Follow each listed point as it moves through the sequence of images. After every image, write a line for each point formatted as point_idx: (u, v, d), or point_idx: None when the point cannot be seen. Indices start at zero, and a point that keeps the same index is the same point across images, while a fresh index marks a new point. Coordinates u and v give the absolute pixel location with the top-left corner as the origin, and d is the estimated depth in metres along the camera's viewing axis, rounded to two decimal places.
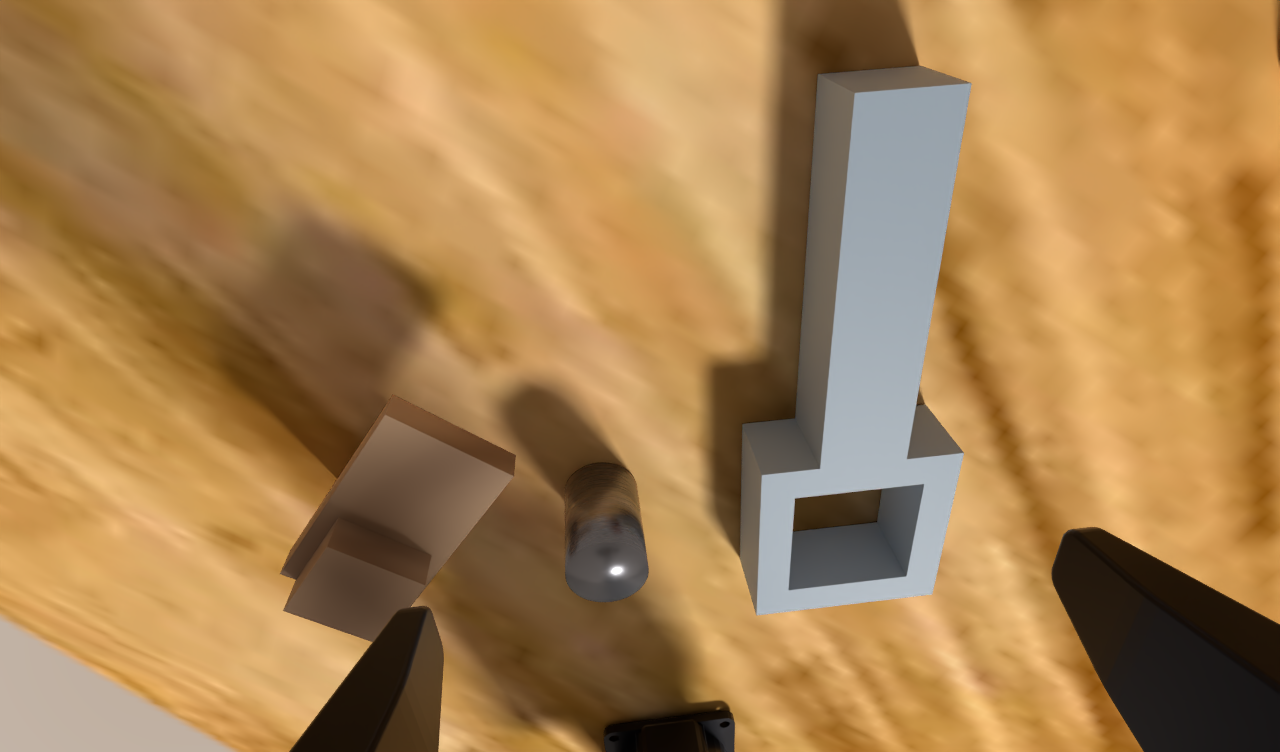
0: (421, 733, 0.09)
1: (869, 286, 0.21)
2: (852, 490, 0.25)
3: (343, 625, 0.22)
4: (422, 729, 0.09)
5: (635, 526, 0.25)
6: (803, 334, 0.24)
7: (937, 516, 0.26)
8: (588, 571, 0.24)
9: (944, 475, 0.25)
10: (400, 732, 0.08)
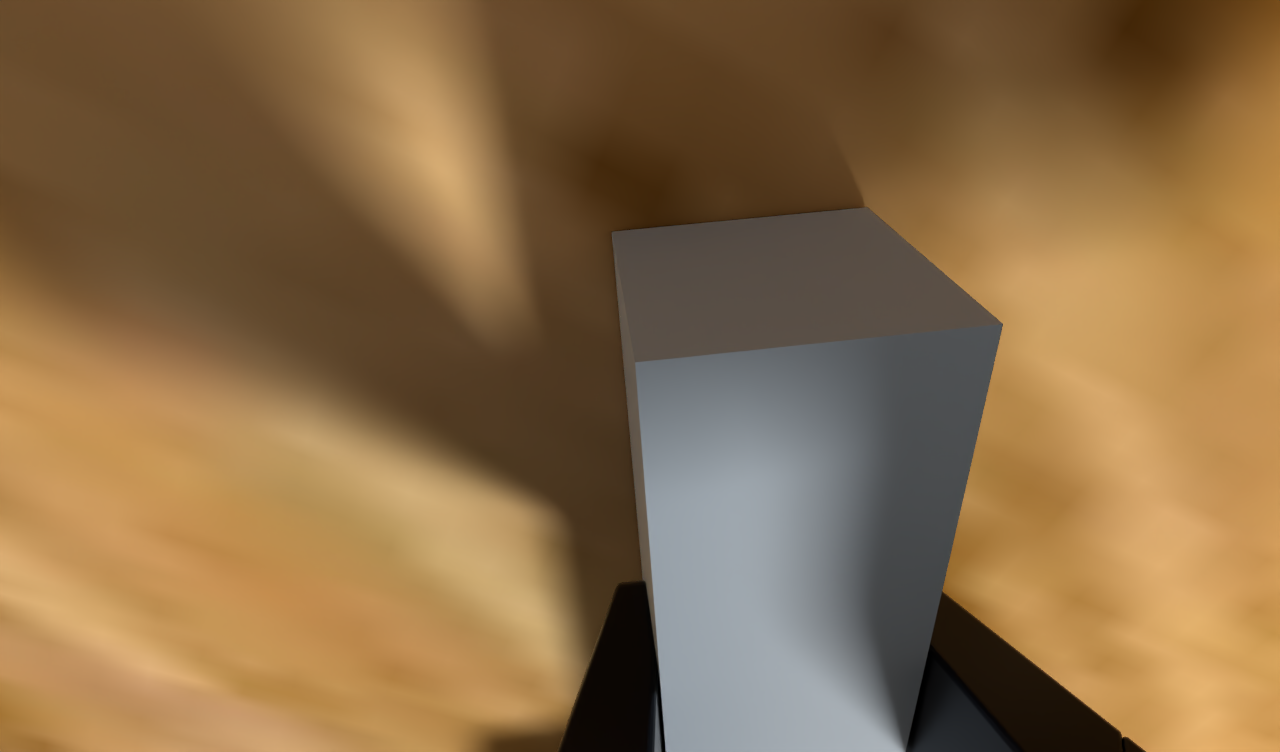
0: None
1: (745, 742, 0.09)
2: None
3: None
4: None
5: None
6: None
7: None
8: None
9: None
10: (659, 699, 0.08)
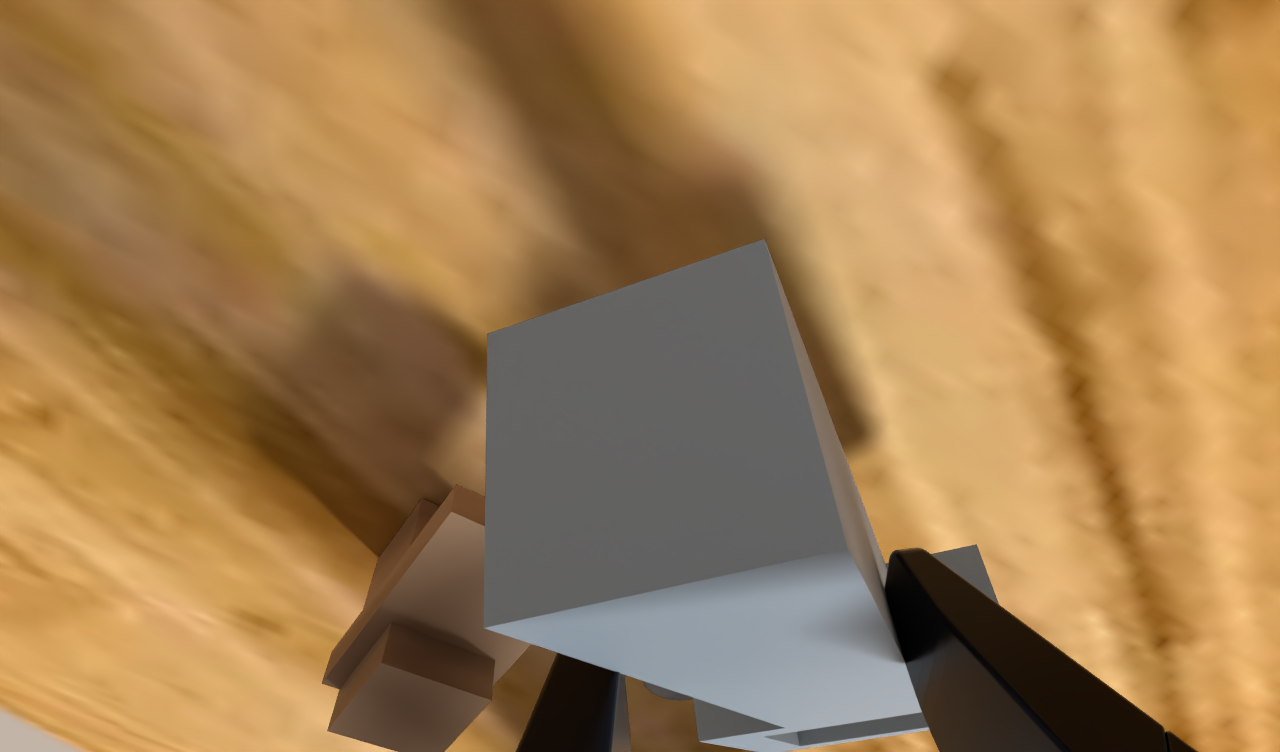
0: (625, 707, 0.09)
1: (754, 684, 0.10)
2: (848, 723, 0.16)
3: (395, 743, 0.19)
4: (625, 703, 0.09)
5: None
6: None
7: None
8: None
9: None
10: (620, 704, 0.08)
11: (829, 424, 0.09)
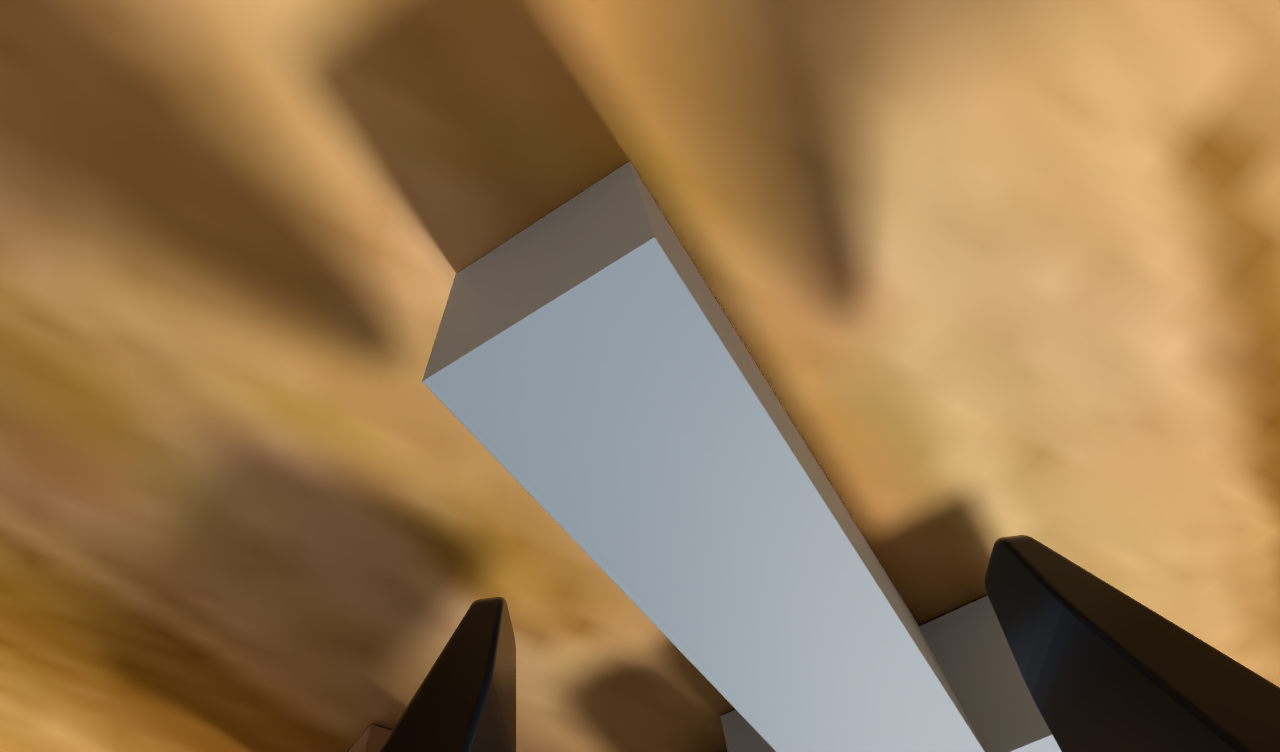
0: (504, 723, 0.09)
1: (724, 610, 0.10)
2: None
3: None
4: (505, 719, 0.09)
5: None
6: None
7: None
8: None
9: None
10: (490, 721, 0.08)
11: (734, 334, 0.11)
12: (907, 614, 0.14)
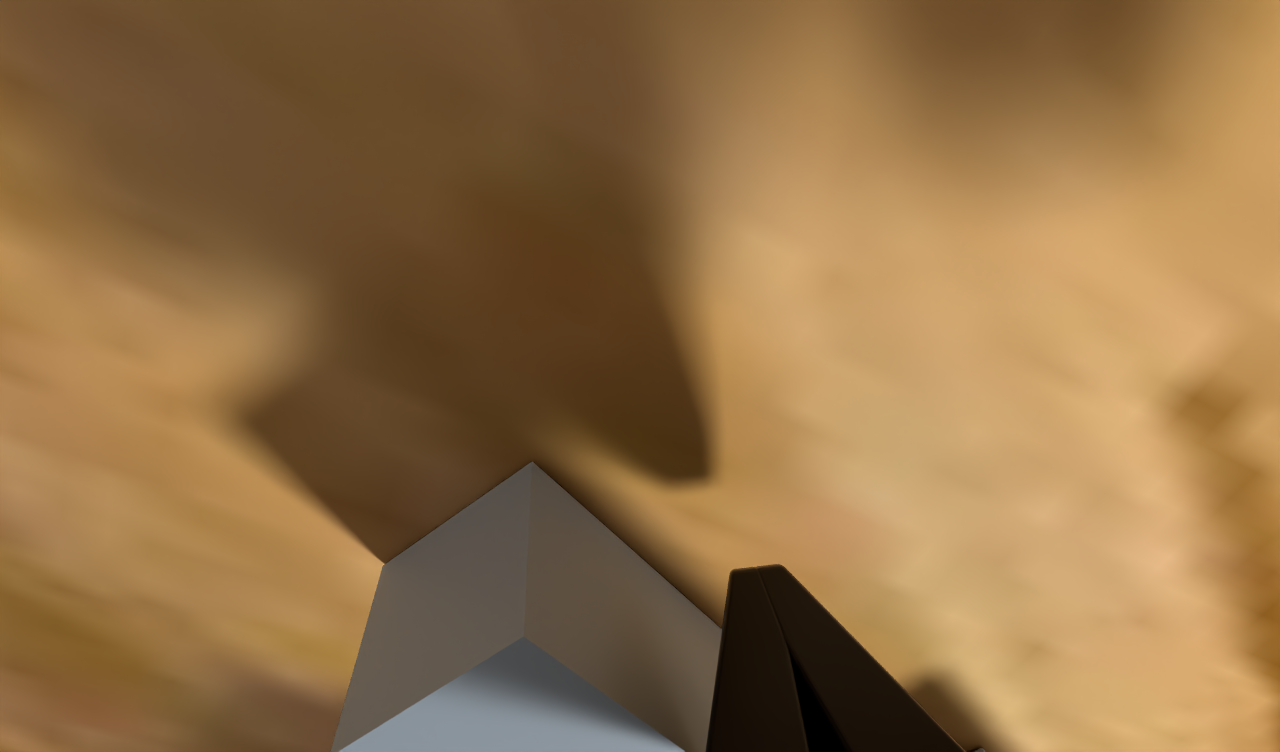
0: None
1: None
2: None
3: None
4: None
5: None
6: None
7: None
8: None
9: None
10: None
11: (656, 598, 0.11)
12: None
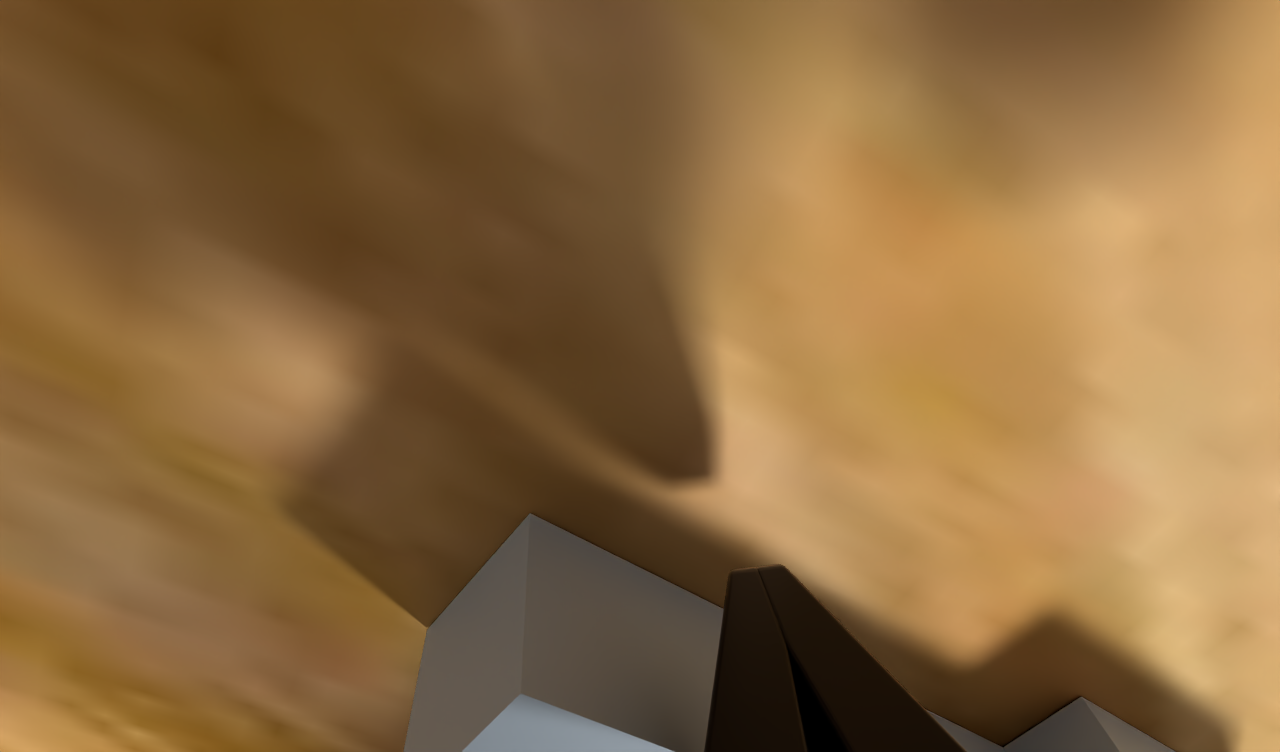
0: None
1: None
2: None
3: None
4: None
5: None
6: None
7: None
8: None
9: None
10: None
11: (681, 617, 0.11)
12: None
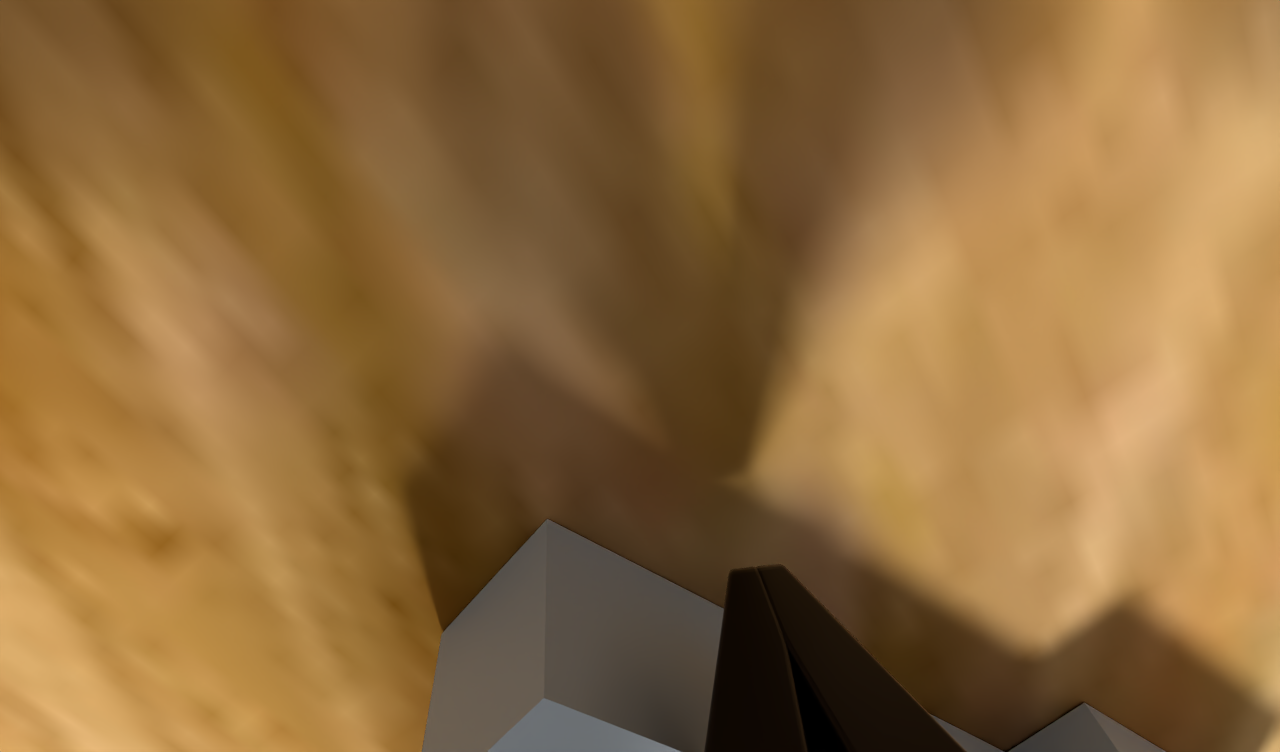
0: None
1: None
2: None
3: None
4: None
5: None
6: None
7: None
8: None
9: None
10: None
11: (694, 622, 0.11)
12: None
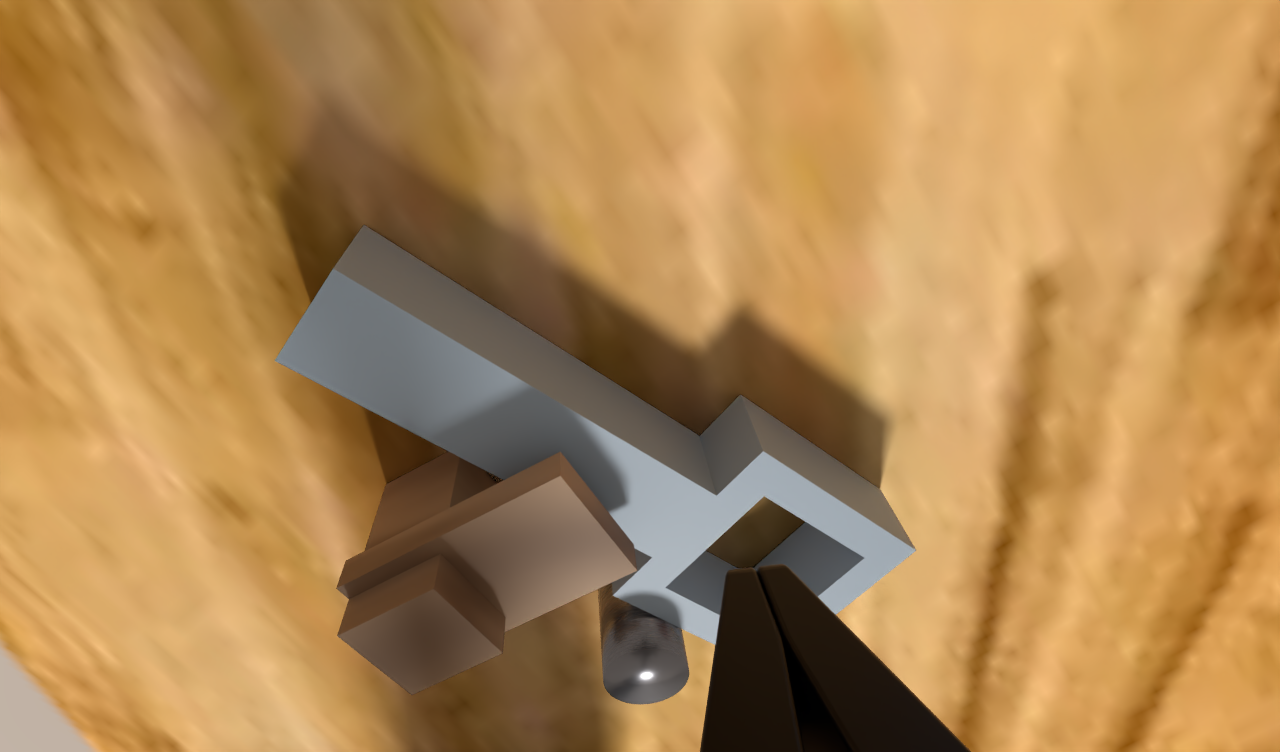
0: None
1: (485, 437, 0.19)
2: (705, 548, 0.22)
3: (390, 667, 0.19)
4: None
5: (682, 636, 0.24)
6: None
7: (818, 504, 0.22)
8: (630, 670, 0.23)
9: (773, 477, 0.21)
10: None
11: (454, 293, 0.19)
12: (653, 424, 0.22)
